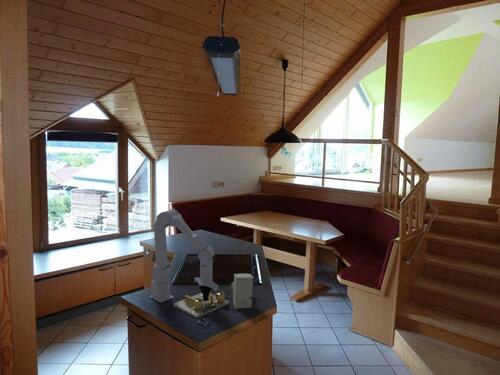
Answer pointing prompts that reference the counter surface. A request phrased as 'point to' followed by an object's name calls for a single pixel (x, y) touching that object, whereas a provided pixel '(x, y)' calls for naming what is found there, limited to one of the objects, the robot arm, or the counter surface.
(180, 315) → the counter surface
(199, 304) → the knob
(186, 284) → the counter surface
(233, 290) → the ceramic mug
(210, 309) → the levelling plate
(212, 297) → the knob
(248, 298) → the skincare box
